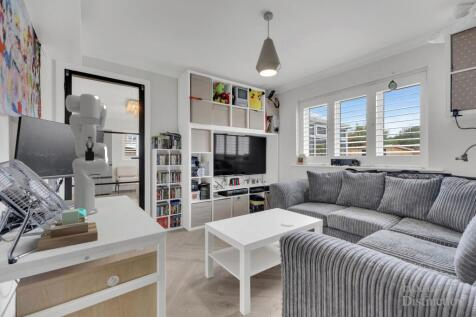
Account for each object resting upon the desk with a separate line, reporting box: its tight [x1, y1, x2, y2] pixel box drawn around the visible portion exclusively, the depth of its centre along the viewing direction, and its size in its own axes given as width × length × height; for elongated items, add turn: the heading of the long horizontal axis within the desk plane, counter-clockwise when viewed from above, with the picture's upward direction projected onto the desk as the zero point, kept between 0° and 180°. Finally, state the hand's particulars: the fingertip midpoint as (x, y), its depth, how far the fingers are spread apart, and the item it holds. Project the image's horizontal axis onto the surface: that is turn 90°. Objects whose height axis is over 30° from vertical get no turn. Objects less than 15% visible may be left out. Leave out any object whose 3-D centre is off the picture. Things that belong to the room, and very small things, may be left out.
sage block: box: [61, 208, 79, 225], centre depth 84 cm, size 5×5×5 cm
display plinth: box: [37, 215, 99, 252], centre depth 84 cm, size 16×17×7 cm
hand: (89, 160), depth 96 cm, fingers open, 9 cm apart
